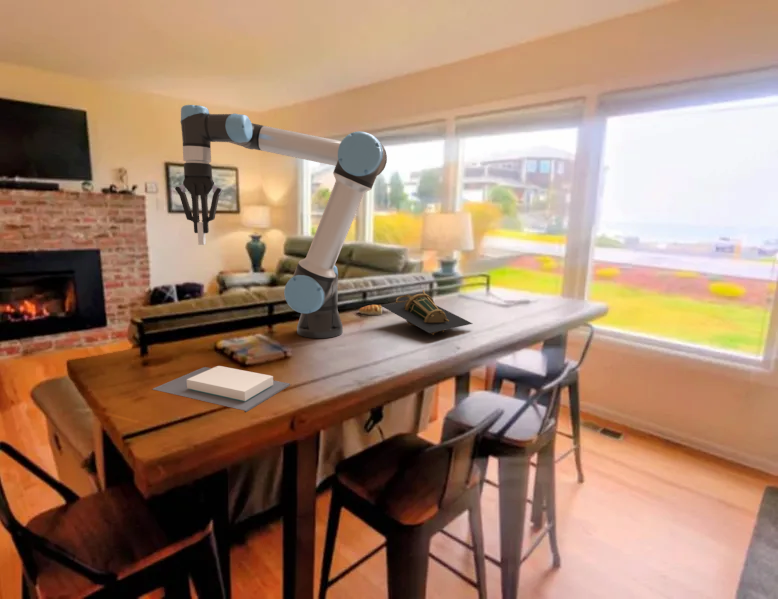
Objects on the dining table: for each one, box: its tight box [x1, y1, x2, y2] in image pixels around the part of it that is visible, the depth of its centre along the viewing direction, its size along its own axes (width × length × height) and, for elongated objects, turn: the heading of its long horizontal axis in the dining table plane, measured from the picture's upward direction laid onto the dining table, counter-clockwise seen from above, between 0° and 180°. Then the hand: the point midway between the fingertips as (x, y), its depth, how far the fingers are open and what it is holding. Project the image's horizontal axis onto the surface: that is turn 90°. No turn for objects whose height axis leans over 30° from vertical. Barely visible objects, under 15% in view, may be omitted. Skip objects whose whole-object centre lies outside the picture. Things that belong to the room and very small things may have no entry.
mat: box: [152, 366, 291, 413], centre depth 105 cm, size 26×16×1 cm, turn 68°
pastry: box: [358, 304, 383, 316], centre depth 182 cm, size 9×7×4 cm
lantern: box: [379, 289, 473, 336], centre depth 162 cm, size 14×23×30 cm
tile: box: [187, 365, 274, 402], centre depth 104 cm, size 2×10×16 cm
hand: (202, 244), depth 137 cm, fingers closed
